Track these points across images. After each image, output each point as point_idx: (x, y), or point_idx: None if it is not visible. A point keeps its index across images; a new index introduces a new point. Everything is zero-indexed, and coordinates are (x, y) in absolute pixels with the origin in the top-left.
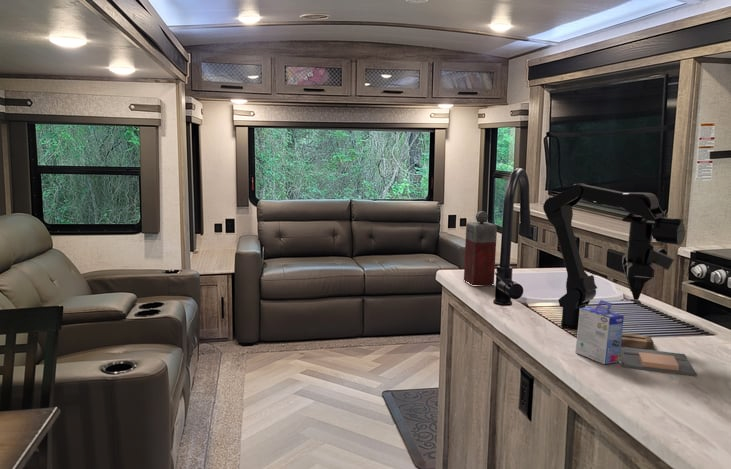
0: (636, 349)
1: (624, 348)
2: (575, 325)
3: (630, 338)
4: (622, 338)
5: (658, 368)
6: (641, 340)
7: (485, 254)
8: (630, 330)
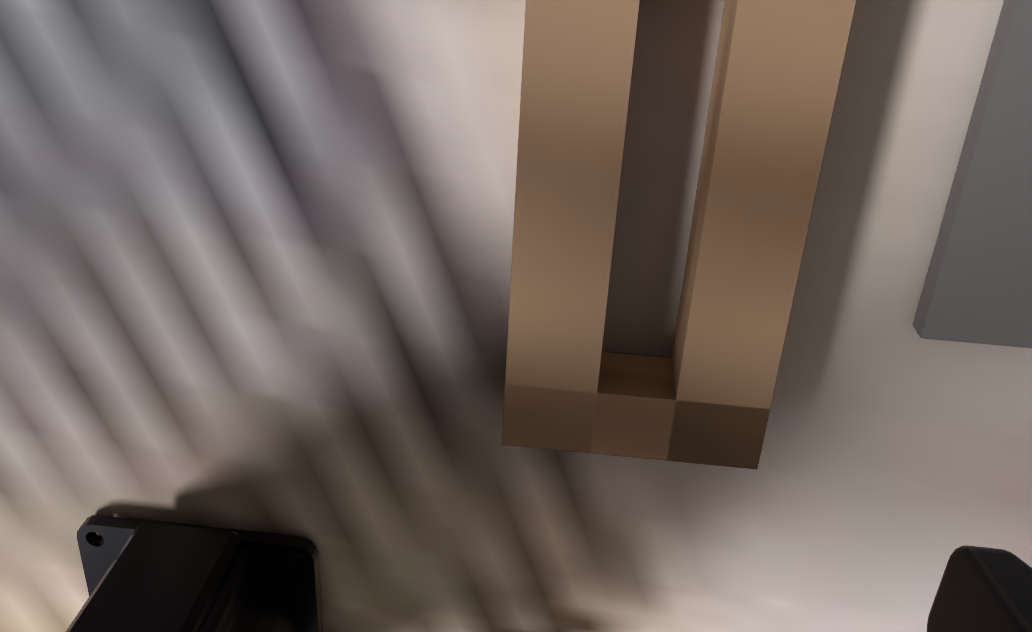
0: (1013, 139)
1: (991, 279)
2: (295, 629)
3: (737, 187)
4: (759, 288)
5: None
6: (803, 50)
7: None
8: (50, 26)
